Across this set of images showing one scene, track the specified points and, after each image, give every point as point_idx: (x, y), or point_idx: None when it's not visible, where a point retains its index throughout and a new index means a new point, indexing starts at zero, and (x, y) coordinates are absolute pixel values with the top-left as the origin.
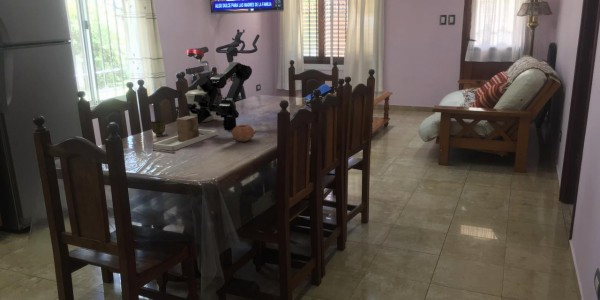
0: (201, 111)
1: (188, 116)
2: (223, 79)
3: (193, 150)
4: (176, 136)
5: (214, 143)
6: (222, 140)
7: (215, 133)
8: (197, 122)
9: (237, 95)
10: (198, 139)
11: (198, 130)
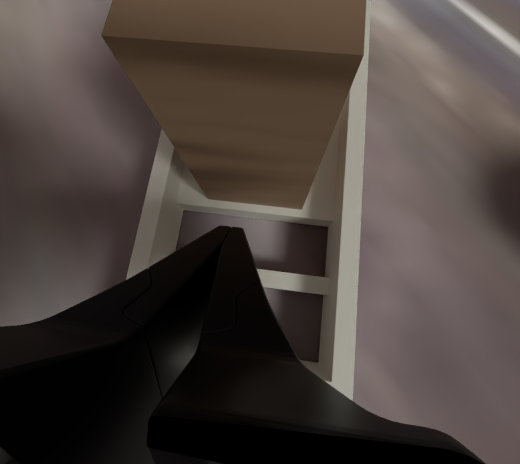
0: (89, 344)
1: (295, 6)
2: None
3: None
4: (352, 97)
5: (90, 193)
6: (63, 282)
7: None
8: (155, 109)
9: None
10: None
11: (188, 168)
